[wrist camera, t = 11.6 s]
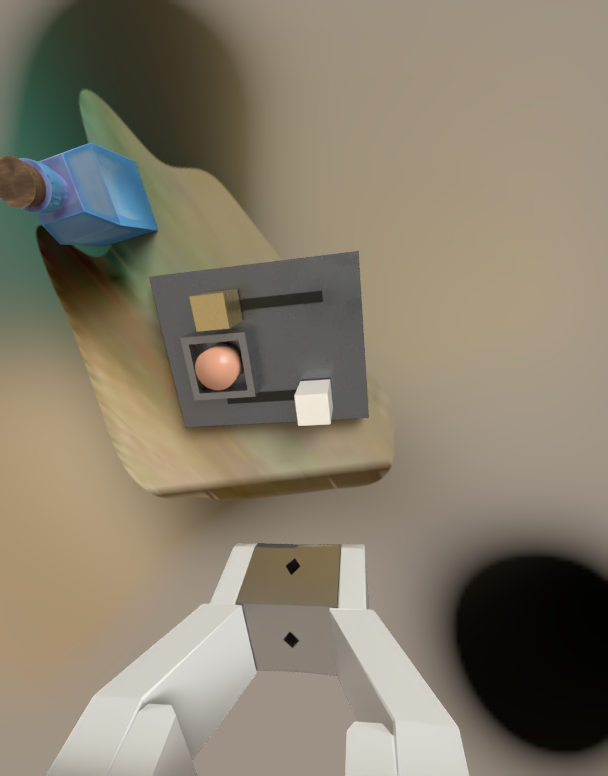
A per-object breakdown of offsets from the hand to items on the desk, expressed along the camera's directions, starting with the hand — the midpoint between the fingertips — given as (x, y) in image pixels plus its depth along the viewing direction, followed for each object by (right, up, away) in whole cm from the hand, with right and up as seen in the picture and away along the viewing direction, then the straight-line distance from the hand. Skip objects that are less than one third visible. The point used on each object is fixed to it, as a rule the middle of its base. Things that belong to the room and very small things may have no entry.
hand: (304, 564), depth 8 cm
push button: (-8, +7, +28) cm, 30 cm away
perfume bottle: (-18, +22, +28) cm, 40 cm away
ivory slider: (+1, +3, +28) cm, 28 cm away
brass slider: (-8, +12, +26) cm, 30 cm away
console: (-4, +9, +30) cm, 32 cm away
